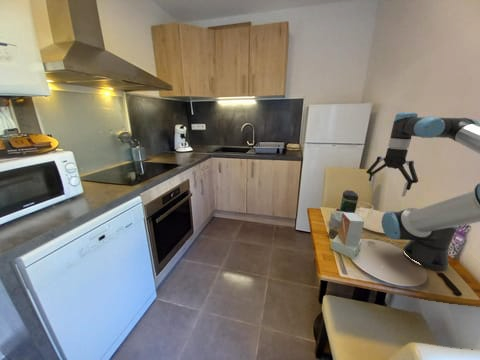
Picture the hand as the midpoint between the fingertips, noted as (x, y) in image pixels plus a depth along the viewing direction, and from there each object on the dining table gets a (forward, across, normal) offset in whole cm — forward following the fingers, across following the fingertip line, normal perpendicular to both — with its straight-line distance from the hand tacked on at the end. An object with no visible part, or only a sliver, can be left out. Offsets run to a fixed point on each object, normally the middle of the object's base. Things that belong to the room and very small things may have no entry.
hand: (386, 191), depth 97 cm
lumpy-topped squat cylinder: (+27, +16, +4) cm, 32 cm away
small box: (+22, +5, +22) cm, 31 cm away
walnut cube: (+26, +13, +16) cm, 34 cm away
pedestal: (+27, +5, +22) cm, 35 cm away
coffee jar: (+26, +19, -8) cm, 33 cm away
